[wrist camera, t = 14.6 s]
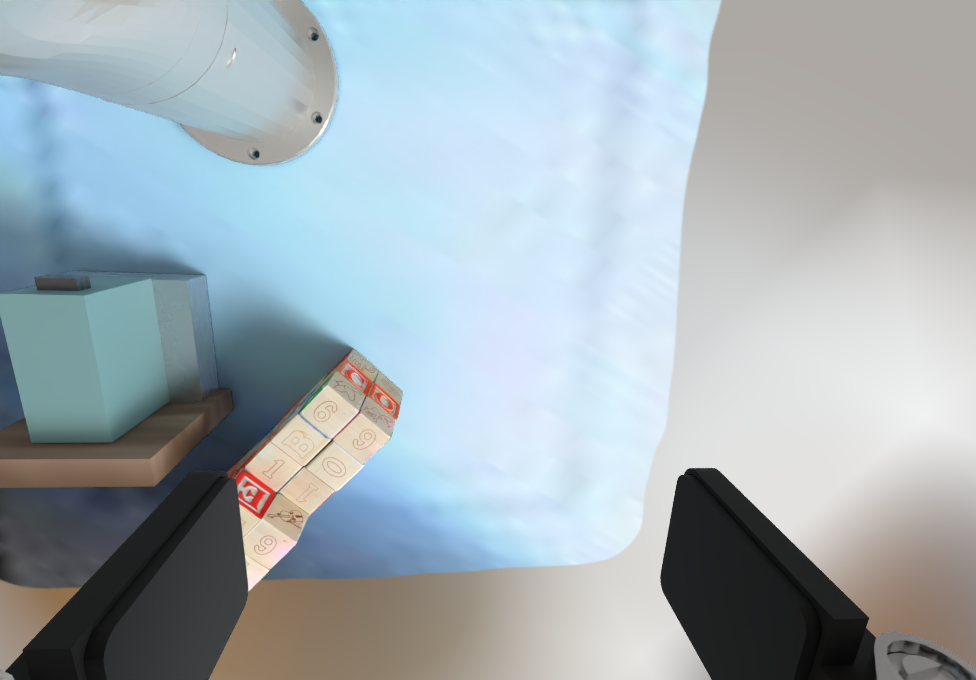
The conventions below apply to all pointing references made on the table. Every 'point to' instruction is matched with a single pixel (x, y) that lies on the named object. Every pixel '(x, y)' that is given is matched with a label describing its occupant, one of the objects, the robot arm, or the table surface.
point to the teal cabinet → (85, 356)
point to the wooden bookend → (161, 434)
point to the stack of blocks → (311, 457)
